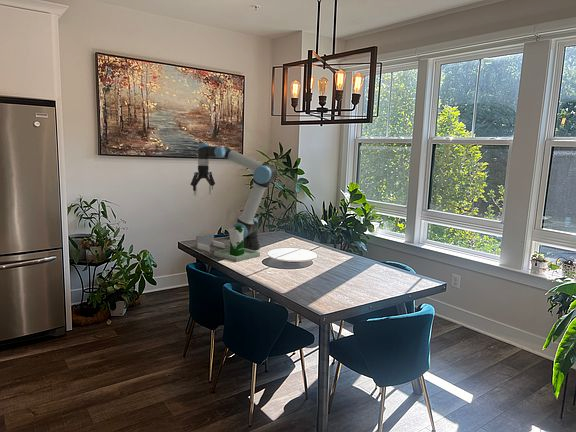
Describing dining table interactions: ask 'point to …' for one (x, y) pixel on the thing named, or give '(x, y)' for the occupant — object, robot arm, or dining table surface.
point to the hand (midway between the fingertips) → (203, 195)
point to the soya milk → (236, 240)
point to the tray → (247, 255)
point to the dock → (207, 242)
